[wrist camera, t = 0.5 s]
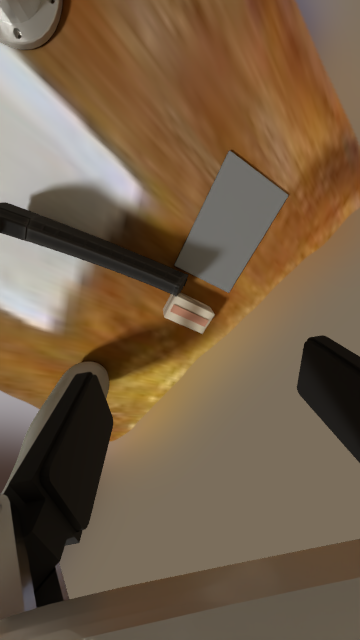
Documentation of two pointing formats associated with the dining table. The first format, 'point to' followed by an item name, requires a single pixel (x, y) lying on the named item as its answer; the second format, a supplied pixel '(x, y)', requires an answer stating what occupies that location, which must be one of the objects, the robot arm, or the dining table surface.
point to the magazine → (88, 248)
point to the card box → (188, 312)
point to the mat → (230, 223)
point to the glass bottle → (53, 401)
